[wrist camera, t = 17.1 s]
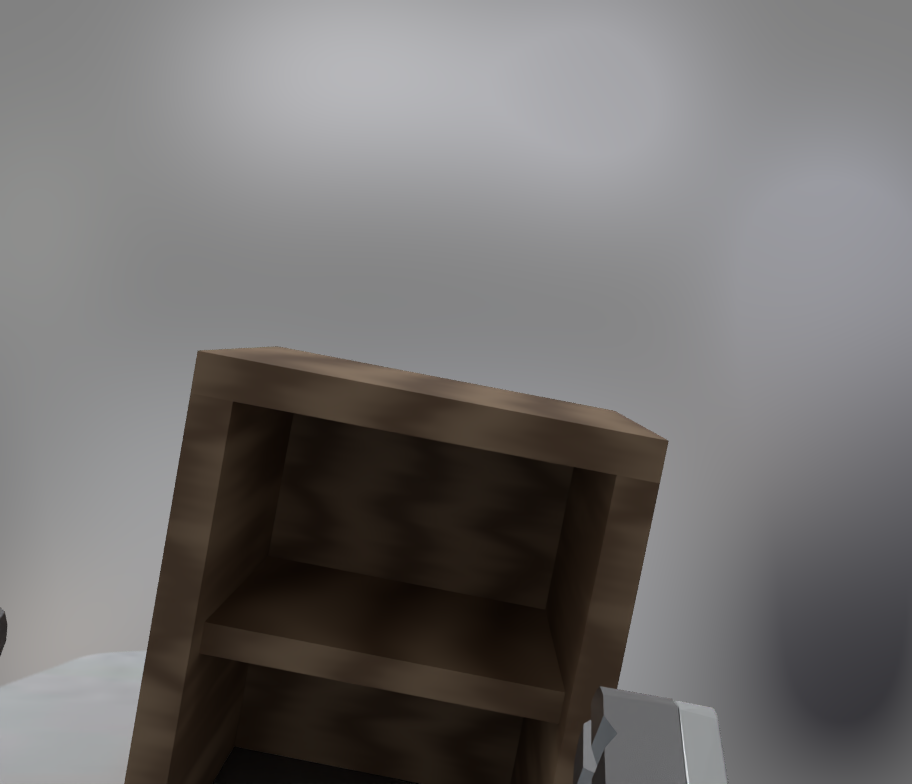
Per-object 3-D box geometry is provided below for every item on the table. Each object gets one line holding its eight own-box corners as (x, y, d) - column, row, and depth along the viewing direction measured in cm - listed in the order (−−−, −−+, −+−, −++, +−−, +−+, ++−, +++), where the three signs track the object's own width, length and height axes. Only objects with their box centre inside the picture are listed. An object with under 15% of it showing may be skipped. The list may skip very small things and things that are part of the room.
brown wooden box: (536, 796, 58) (614, 410, 56) (557, 972, 42) (668, 440, 40) (209, 732, 58) (277, 346, 56) (107, 882, 42) (197, 350, 40)
